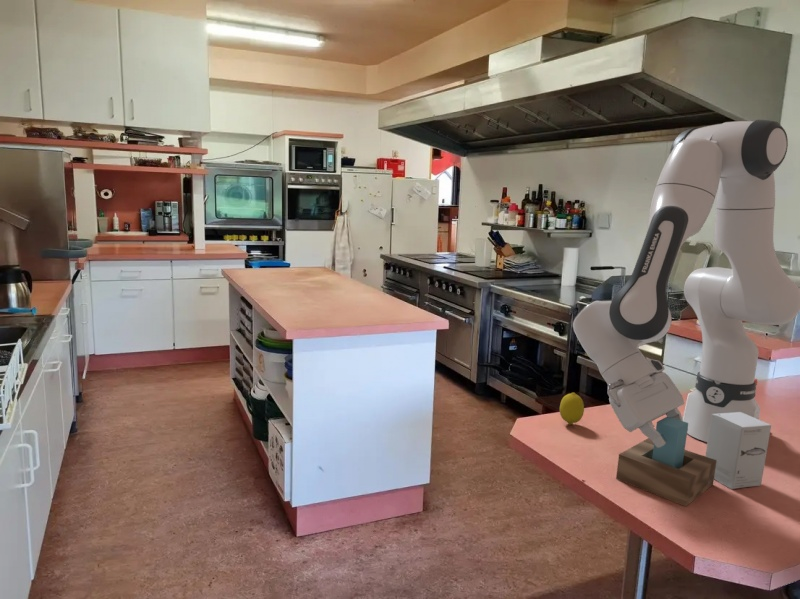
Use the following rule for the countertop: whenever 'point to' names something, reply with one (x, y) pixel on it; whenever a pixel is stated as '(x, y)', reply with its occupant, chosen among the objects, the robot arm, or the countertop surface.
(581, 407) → the lemon
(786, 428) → the countertop surface
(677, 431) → the blue square pillar
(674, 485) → the well block
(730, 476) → the supplement box
